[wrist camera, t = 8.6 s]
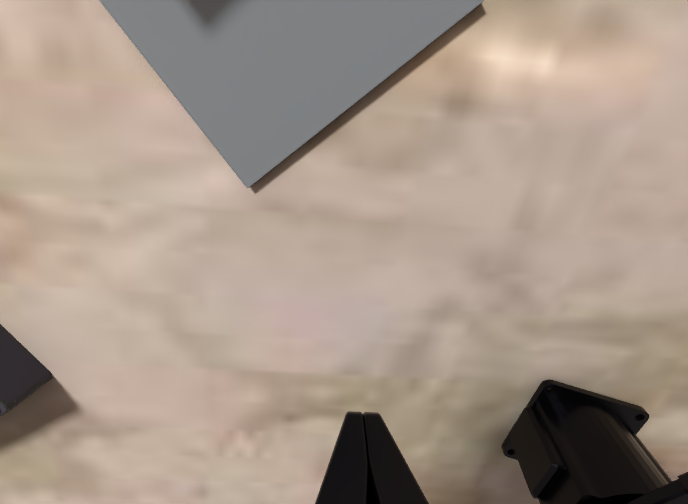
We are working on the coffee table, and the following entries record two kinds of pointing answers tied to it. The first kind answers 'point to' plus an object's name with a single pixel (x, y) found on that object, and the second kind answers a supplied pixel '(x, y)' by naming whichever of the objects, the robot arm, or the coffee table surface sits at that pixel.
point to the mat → (277, 62)
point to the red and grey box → (18, 372)
